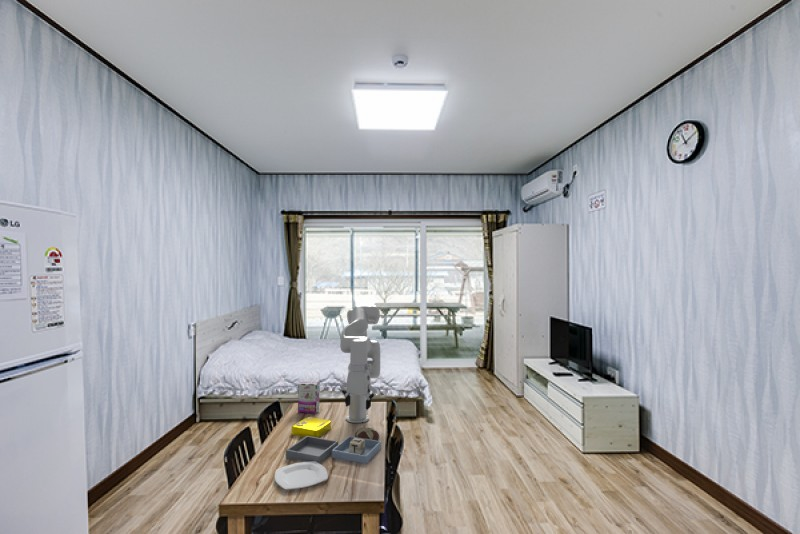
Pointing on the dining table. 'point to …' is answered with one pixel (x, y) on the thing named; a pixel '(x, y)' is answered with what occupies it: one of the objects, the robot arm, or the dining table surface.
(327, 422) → the element tile
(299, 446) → the charcoal bin
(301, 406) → the candy bar box
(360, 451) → the letter cube
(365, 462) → the slate bin
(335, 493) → the dining table surface
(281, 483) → the plate
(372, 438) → the bread
